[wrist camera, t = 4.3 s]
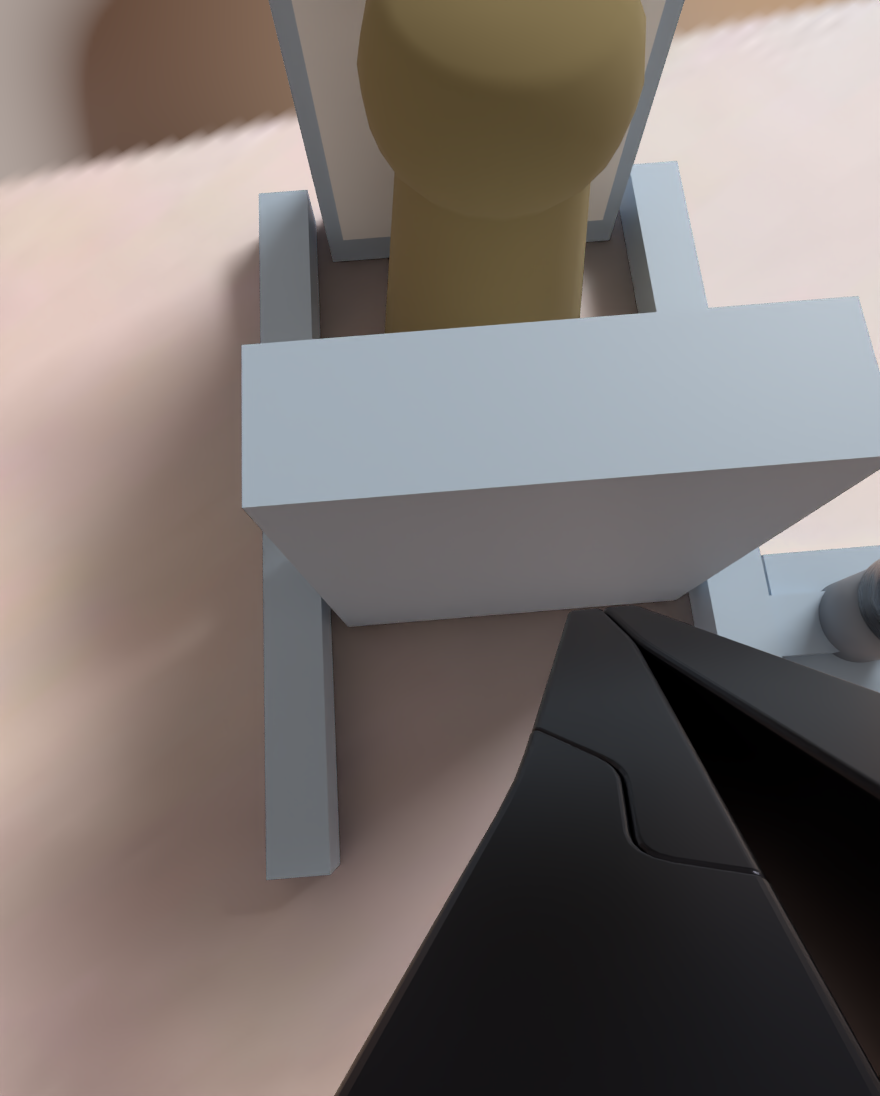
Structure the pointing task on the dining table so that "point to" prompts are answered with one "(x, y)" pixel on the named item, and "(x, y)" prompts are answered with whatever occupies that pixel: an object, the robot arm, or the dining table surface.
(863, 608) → the lock handle
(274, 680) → the vise bed
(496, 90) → the cork
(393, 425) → the block
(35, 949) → the dining table surface
